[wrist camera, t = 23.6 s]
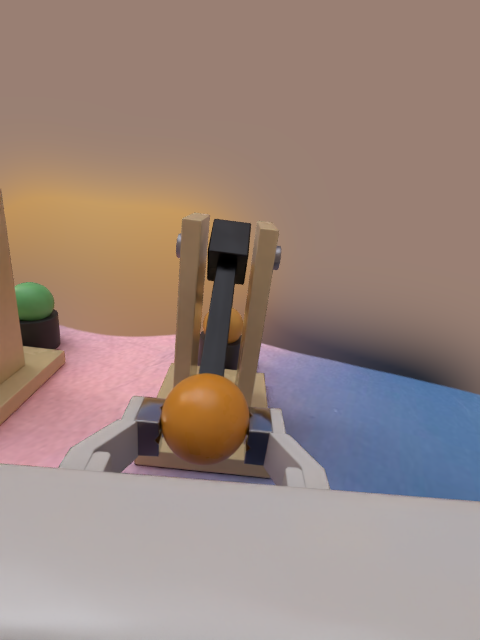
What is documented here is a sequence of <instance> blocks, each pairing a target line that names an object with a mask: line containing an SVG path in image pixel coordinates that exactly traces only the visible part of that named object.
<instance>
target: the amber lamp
mask: <svg viewBox="0 0 480 640" xmlns="http://www.w3.org/2000/svg"><path fill="white" fill-rule="evenodd" d="M208 315H209V312H208V313H207V314H206V316H205V318H204V321H203V329H204V331H202V332H201V334H200V340H199V352H198V366H200V362H201V356H202V350H203V344H204V338H205V332H206V326H207V320H208ZM242 329H243V320H242V317H241V315H240V314H239V313H238V312H237V310H235V309H234V308H232V312H231V320H230V329H229V337H228V346H227V355H226V363H225V369H230V370H237V365H238V358H239V351H240V343H241V336H242V335H241V334H242Z"/></svg>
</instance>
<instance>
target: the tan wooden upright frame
mask: <svg viewBox="0 0 480 640" xmlns="http://www.w3.org/2000/svg"><path fill="white" fill-rule="evenodd" d="M209 220H210V215H208V214H201V213H194V214H191V215H189V216H187V217H185V218H183V219H182V231H181V234H179V235H178V238H177V245H176V254H177V257H178V258H180V269H179V286H178V305H177V324H176V342H175V360H174V363H171V365H170V367H169V370H168V372H167V374H166V377H165V379H164V382H163V384H162V386H161V389H160V391H159V393H158V396H157V398H162V399H166V398H167V396H168V394H169V393H170V392H171V390H172V389H173V388H174V387H175V386H176V385H177V384H178V383H179V382H181V381H182V380H184V379H186V378H188V377H190V376H193V375H196V374H199V368H200V366H197V364H198V352H199V340H200V328H201V317H202V305H203V293H204V280H205V268H206V256H207V245H208V233H209ZM278 236H279V230H278V229H277V228H276V227H275V225H274V224H273V223H271V222H263V221H257V225H256V234H255V240H254V248H253V255H252V262H251V270H250V277H249V285H248V293H247V299H246V307H245V314H244V321H243V329H242V336H241V343H240V351H239V358H238V365H237V370H230V369H225V372H224V377H225V378H227V379H229V380H230V381H232V382H233V383H234V384H235V385H236V386H237V387H238V388H239V389H240V391H241V392H242V393H243V395H244V397H245V399H246V402H247V405H248V407H259V408H268V407H267V397H266V388H265V378H264V373H256V372H257V366H258V359H259V353H260V347H261V341H262V334H263V328H264V322H265V316H266V310H267V303H268V297H269V291H270V285H271V278H272V273H273V270H277V269H278V268H279V264H280V259H281V247H280V246H277V242H278ZM244 446H245V444H244V441H243V443H242V444H241V446H240V447H239V448H238V450H237V451H236V452H235V453H234V454H233V455H231V456H230V457H229V458H227V459H225V460H224V461H221V462H219V463H216V464H212V465H196V464H192V463H189V462H186V461H184V460H182V459H181V458H179V457H178V456H177V455H175V454H174V453H173V452H172V450H171V449H170V448H169V446H168V445H167V443H166V441H165V439H164V437H163V438H162V447H161V450H160V453H159V457H157V456H138V457H137V458H136V459H135V464H138V465H148V466H158V467H167V468H177V469H187V470H196V471H206V472H216V473H225V474H235V475H245V476H254V477H264V478H270V476H269V474H268V473H267V471H266V470H265V468H264V467H263V466H261V465H252V464H244Z"/></svg>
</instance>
